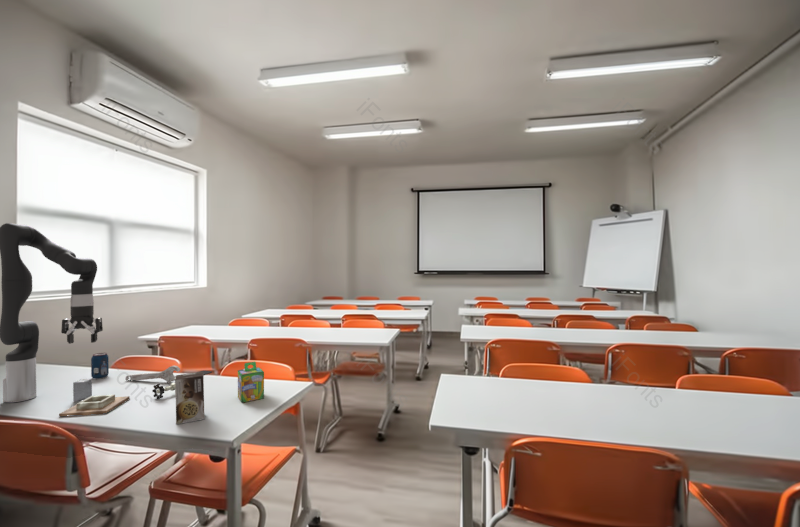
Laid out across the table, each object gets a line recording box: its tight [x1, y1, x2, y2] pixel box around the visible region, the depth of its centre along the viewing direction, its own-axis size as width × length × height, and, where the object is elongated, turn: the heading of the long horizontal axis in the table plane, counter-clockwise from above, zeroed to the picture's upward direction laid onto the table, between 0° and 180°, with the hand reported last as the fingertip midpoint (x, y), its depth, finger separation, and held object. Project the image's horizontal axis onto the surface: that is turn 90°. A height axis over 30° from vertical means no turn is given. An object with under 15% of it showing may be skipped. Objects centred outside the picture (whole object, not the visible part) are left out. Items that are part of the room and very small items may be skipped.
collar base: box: [58, 394, 130, 417], centre depth 149 cm, size 16×16×3 cm
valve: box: [151, 382, 176, 400], centre depth 163 cm, size 7×7×12 cm
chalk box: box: [237, 361, 265, 403], centre depth 158 cm, size 9×9×15 cm
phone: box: [198, 370, 213, 376], centre depth 192 cm, size 7×1×15 cm
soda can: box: [90, 352, 110, 380], centre depth 191 cm, size 7×7×12 cm
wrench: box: [125, 365, 181, 384], centre depth 183 cm, size 8×2×30 cm
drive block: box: [72, 378, 93, 402], centre depth 159 cm, size 4×4×8 cm
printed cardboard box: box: [174, 371, 205, 425], centre depth 137 cm, size 9×6×16 cm
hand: (82, 342), depth 159 cm, fingers open, 8 cm apart
